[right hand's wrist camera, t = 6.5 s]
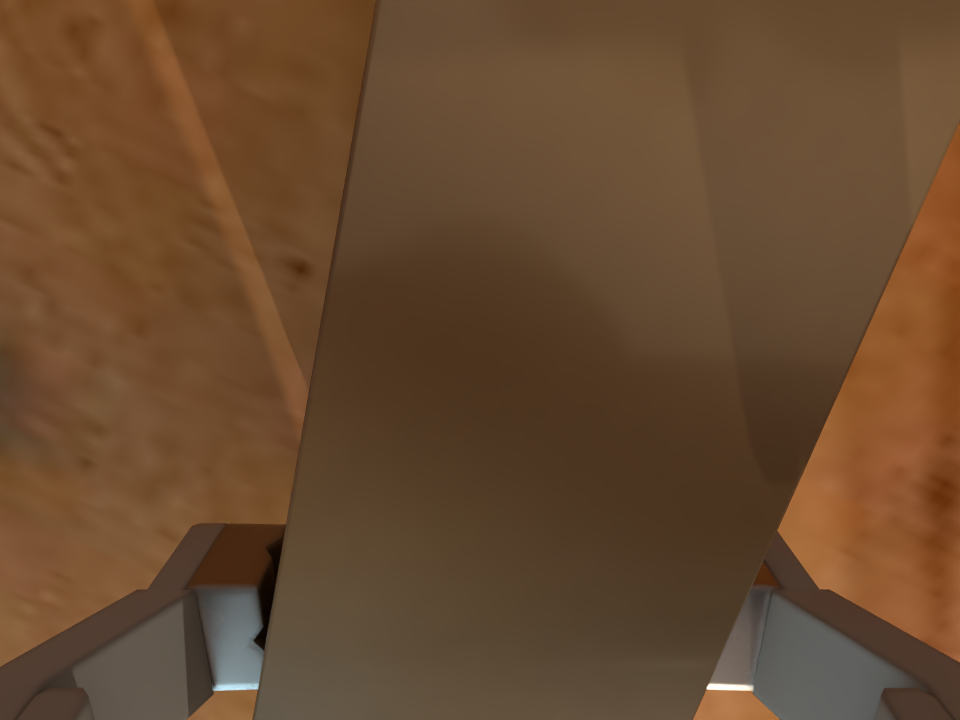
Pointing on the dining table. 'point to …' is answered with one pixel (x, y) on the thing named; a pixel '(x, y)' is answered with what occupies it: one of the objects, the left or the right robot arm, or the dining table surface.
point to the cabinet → (587, 340)
